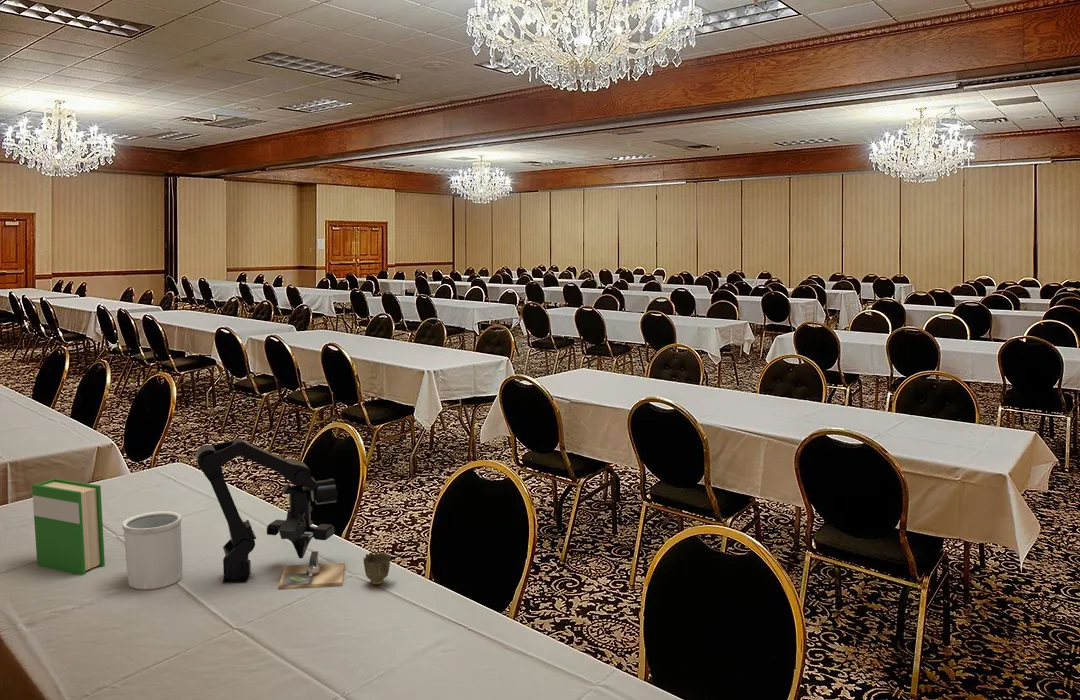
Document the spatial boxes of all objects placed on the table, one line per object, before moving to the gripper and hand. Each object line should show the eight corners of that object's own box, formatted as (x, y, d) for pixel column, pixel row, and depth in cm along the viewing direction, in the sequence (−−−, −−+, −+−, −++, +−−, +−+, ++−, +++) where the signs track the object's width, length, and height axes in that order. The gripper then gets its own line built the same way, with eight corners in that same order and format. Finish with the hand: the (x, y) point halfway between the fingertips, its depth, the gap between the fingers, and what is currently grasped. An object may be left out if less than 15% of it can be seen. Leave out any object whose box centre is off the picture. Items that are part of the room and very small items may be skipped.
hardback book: (104, 565, 240) (100, 485, 236) (82, 575, 233) (77, 492, 229) (60, 556, 246) (55, 478, 242) (37, 565, 239) (31, 485, 236)
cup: (384, 590, 226) (384, 562, 225) (359, 588, 228) (359, 560, 227) (394, 580, 234) (394, 552, 232) (370, 577, 235) (369, 550, 234)
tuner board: (278, 589, 226) (278, 584, 226) (284, 569, 240) (284, 564, 239) (342, 585, 229) (342, 581, 229) (345, 566, 243) (345, 561, 242)
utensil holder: (113, 583, 228) (110, 522, 225) (160, 565, 241) (157, 507, 238) (149, 595, 221) (146, 532, 218) (195, 575, 234) (193, 516, 231)
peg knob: (317, 581, 228) (317, 569, 227) (303, 582, 227) (303, 570, 227) (321, 562, 241) (321, 551, 241) (308, 562, 241) (308, 551, 240)
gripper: (255, 512, 232) (257, 565, 234) (316, 518, 228) (317, 572, 230) (276, 500, 243) (277, 551, 245) (334, 505, 239) (335, 557, 241)
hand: (301, 557), depth 240 cm, fingers closed
